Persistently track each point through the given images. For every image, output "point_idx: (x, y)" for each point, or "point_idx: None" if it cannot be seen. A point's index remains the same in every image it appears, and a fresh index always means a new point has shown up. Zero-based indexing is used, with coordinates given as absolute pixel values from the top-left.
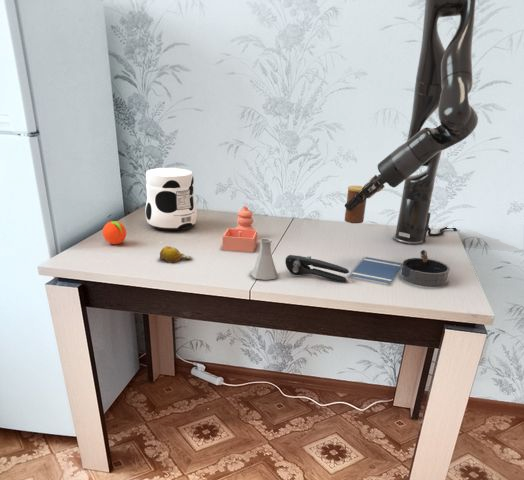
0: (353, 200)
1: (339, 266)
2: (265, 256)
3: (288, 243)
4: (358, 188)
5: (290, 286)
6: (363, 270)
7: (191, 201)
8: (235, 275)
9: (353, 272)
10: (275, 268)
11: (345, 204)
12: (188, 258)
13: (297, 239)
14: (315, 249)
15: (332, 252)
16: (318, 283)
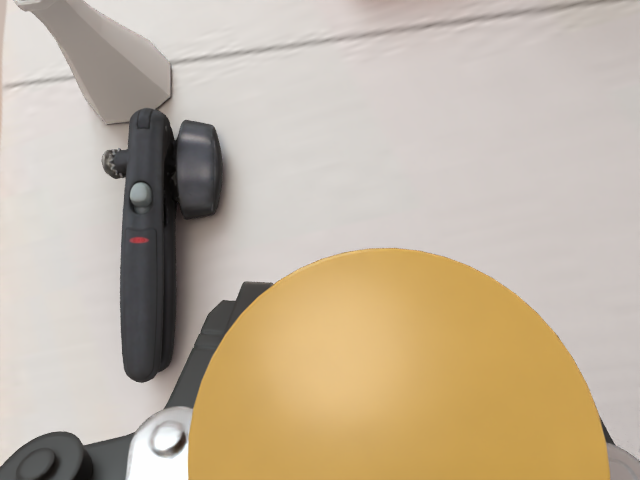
0: (179, 389)
1: (133, 338)
2: (55, 39)
3: (522, 49)
4: (320, 471)
5: (64, 188)
6: None
7: None
8: (104, 6)
9: None
10: (125, 100)
11: (241, 289)
12: None
13: (601, 65)
14: (502, 169)
15: (500, 247)
16: (119, 271)
